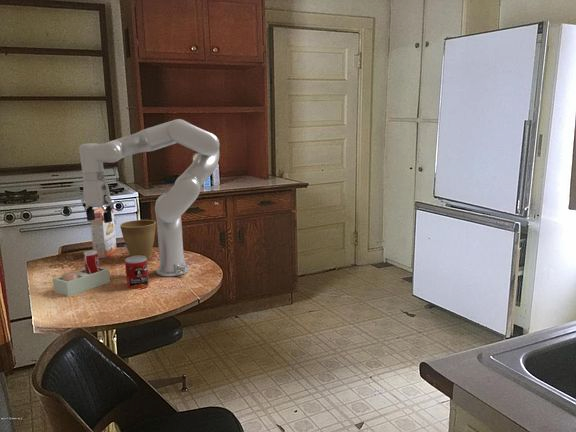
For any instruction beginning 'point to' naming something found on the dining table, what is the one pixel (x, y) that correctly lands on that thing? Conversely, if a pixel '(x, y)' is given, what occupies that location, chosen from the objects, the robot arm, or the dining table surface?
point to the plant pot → (139, 236)
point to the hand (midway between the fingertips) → (99, 221)
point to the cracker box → (103, 234)
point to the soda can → (91, 262)
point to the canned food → (136, 272)
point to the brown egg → (70, 276)
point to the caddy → (81, 282)
